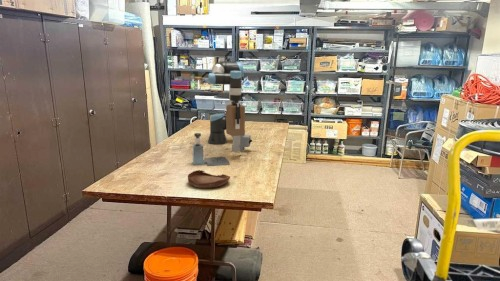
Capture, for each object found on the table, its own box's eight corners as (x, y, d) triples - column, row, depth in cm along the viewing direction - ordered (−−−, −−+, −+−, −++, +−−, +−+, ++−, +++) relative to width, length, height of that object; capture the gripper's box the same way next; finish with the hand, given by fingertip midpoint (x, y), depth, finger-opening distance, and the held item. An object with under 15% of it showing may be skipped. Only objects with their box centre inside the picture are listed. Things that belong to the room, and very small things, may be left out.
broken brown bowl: (231, 178, 191) (231, 169, 190) (228, 191, 171) (228, 181, 170) (192, 177, 192) (191, 168, 191) (184, 189, 172) (183, 180, 171)
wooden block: (231, 136, 223) (231, 106, 219) (225, 133, 232) (225, 104, 228) (245, 135, 228) (245, 105, 223) (238, 132, 237) (239, 104, 232)
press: (192, 160, 223) (191, 143, 220) (224, 158, 229) (224, 141, 226) (194, 166, 210) (194, 148, 207) (229, 164, 215) (229, 146, 213)
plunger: (194, 147, 216) (194, 133, 214) (200, 147, 217) (200, 132, 215) (195, 149, 212) (194, 134, 210) (201, 148, 213) (201, 134, 211)
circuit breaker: (250, 152, 246) (250, 132, 243) (231, 151, 249) (231, 131, 246) (252, 150, 253) (252, 130, 250) (234, 148, 256) (234, 129, 253)
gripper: (226, 93, 234) (226, 124, 239) (234, 96, 212) (234, 130, 217) (236, 92, 236) (236, 124, 241) (245, 96, 214) (245, 130, 219)
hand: (235, 127), depth 229 cm, fingers closed on wooden block, 11 cm apart
